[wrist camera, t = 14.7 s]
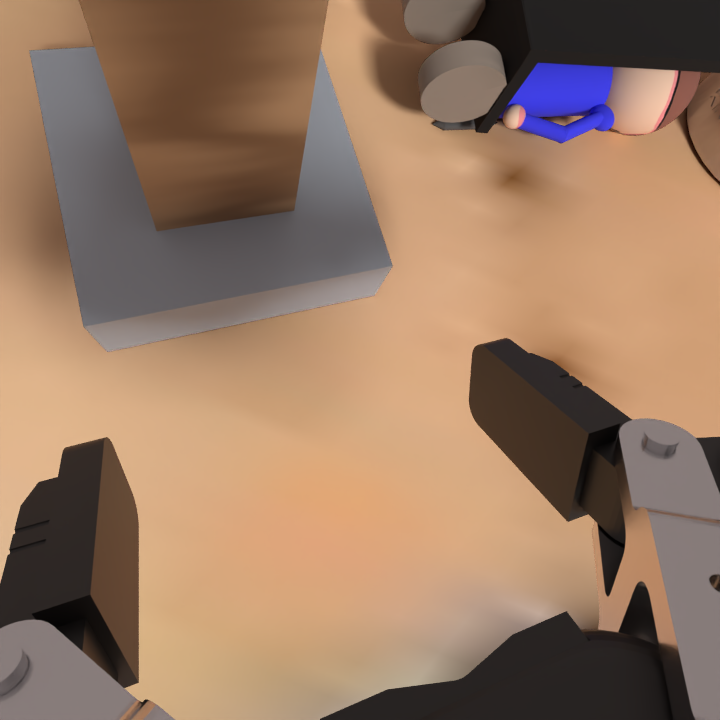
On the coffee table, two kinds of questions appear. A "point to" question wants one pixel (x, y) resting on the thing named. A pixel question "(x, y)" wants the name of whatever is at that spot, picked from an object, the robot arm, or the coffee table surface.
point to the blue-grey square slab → (201, 242)
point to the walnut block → (211, 100)
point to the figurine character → (563, 62)
